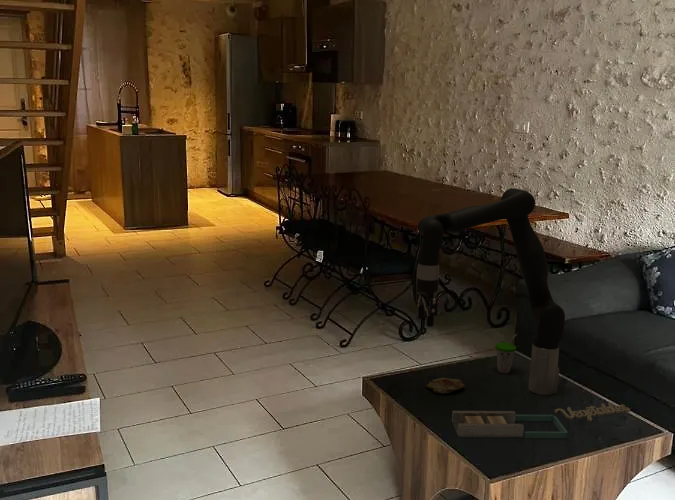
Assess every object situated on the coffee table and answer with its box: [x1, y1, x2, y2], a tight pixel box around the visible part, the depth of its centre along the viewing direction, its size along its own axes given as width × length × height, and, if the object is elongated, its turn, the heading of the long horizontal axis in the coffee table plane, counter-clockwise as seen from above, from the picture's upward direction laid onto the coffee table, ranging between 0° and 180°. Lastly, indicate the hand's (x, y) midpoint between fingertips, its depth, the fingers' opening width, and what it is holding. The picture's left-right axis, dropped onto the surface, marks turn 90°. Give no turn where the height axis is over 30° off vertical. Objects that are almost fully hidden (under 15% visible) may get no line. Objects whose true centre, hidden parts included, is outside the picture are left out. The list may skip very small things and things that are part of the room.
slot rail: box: [451, 410, 525, 438], centre depth 205 cm, size 20×11×4 cm, turn 92°
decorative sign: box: [554, 402, 631, 423], centre depth 220 cm, size 26×1×10 cm
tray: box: [515, 414, 569, 441], centre depth 206 cm, size 13×12×3 cm
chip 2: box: [486, 416, 507, 424], centre depth 205 cm, size 5×5×3 cm
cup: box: [494, 333, 518, 374], centre depth 252 cm, size 8×8×15 cm
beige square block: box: [464, 416, 484, 424], centre depth 205 cm, size 5×5×3 cm
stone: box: [424, 377, 466, 395], centre depth 236 cm, size 13×10×3 cm
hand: (425, 322), depth 225 cm, fingers open, 8 cm apart
